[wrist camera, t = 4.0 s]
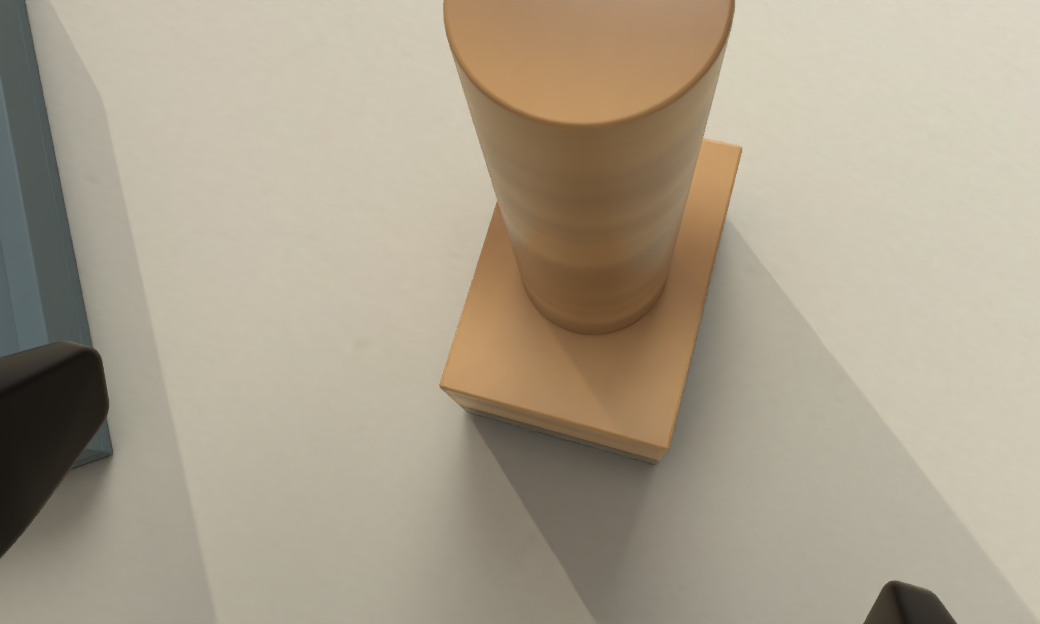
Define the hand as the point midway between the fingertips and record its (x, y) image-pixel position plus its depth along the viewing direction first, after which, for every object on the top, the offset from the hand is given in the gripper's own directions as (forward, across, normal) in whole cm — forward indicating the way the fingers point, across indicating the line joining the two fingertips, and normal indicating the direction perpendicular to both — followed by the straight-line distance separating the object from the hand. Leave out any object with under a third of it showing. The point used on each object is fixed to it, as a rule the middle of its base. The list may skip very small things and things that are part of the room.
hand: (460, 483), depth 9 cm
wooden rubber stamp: (+12, 0, +4) cm, 13 cm away
